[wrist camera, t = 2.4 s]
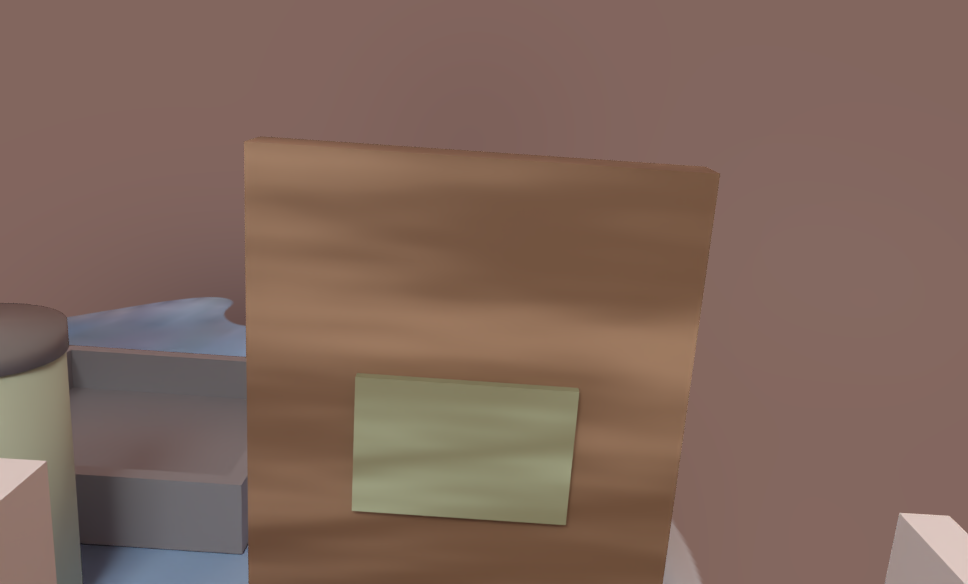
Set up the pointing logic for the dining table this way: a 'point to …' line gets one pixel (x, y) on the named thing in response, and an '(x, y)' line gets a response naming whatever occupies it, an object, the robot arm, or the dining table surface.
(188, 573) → the dining table surface
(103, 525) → the tray
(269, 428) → the panel
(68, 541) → the sage canister
